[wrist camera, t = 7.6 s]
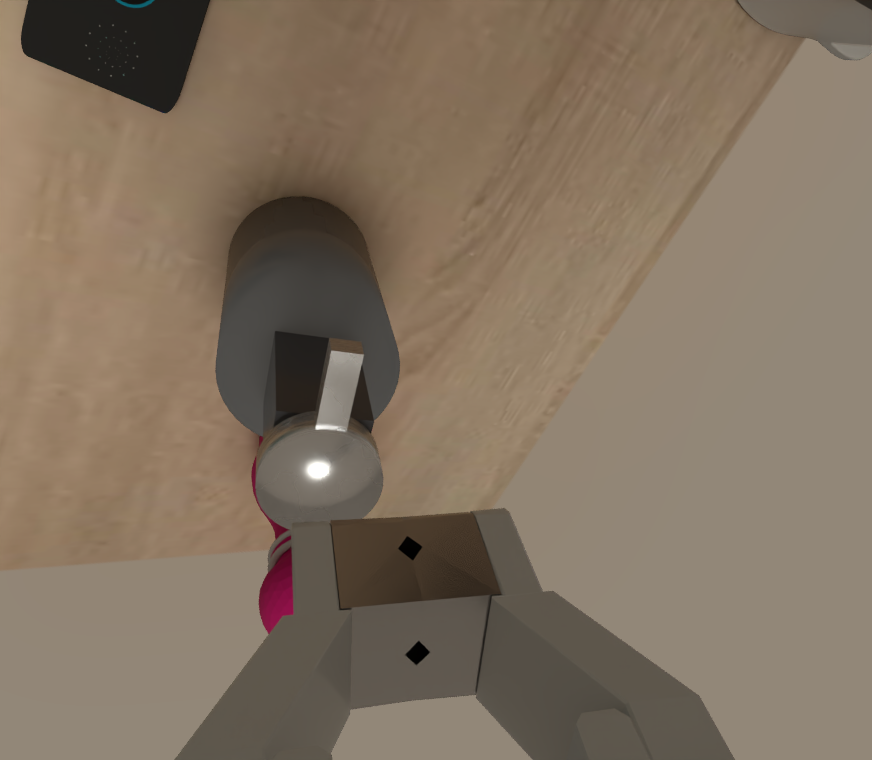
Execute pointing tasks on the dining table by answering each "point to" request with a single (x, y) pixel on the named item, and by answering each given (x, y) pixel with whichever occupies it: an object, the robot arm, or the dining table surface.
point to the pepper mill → (276, 573)
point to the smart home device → (118, 43)
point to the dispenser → (300, 314)
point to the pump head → (322, 452)
